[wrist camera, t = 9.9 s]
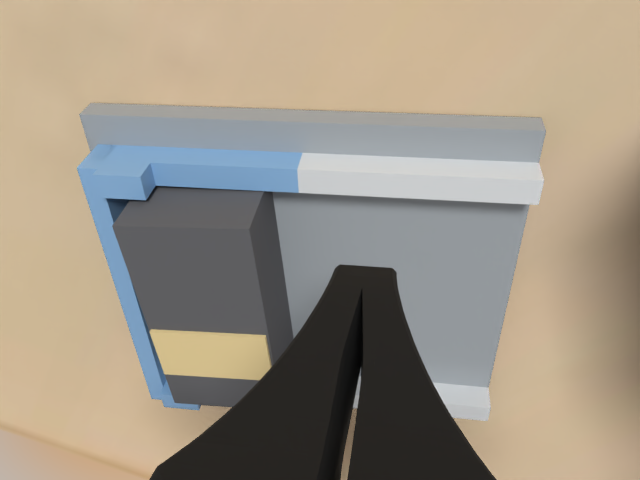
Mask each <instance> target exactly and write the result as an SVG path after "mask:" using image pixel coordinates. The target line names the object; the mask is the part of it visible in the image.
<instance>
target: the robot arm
mask: <svg viewBox="0 0 640 480" xmlns="http://www.w3.org/2000/svg"><path fill="white" fill-rule="evenodd" d="M360 369H361V384H360V392H359V400H358V408H357V416H356V423H355V431H354V438H353V445H352V452H351V459H350V466H349V473H348V479H347V480H496V479H495V477H494V476H493V475H492V474H491V472H490V471H489V470H488V468H487V467H486V466H485V464H484V463H483V462H482V460H481V459H480V458H479V456H478V455H477V454H476V452H475V451H474V449H473V448H472V446H471V445H470V443H469V442H468V440H467V439H466V437H465V436H464V434H463V433H462V431H461V430H460V428H459V427H458V425H457V424H456V422H455V421H454V419H453V418H452V416H451V414H450V413H449V411H448V409H447V408H446V406H445V404H444V403H443V401H442V399H441V397H440V395H439V393H438V392H437V390H436V388H435V386H434V384H433V382H432V380H431V378H430V376H429V374H428V372H427V370H426V368H425V366H424V363H423V361H422V359H421V357H420V354H419V352H418V350H417V347H416V345H415V342H414V340H413V337H412V334H411V331H410V329H409V326H408V323H407V320H406V317H405V314H404V311H403V307H402V303H401V299H400V295H399V290H398V285H397V272H396V271H395V270H394V269H393V268H387V267H372V266H356V265H341V264H340V265H338V266H337V267H336V268H335V269H334V272H333V274H332V277H331V279H330V281H329V283H328V285H327V287H326V289H325V291H324V293H323V294H322V296H321V298H320V300H319V301H318V303H317V305H316V306H315V308H314V310H313V311H312V313H311V314H310V316H309V317H308V319H307V321H306V322H305V324H304V325H303V327H302V328H301V330H300V331H299V332H298V334H297V335H296V336H295V338H294V339H293V340H292V342H291V343H290V344H289V346H288V347H287V349H286V350H285V351H284V352H283V354H282V355H281V356H280V357H279V359H278V360H277V361H276V362H275V364H274V365H273V366H272V367H271V368H270V369H269V370H268V372H267V373H266V374H265V375H264V376H263V377H262V378H261V379H260V381H259V382H258V383H257V384H256V385H255V386H254V387H253V388H252V389H251V390H250V391H249V392H248V393H247V394H246V395H245V396H244V397H243V398H242V399H241V400H240V401H239V402H238V403H237V404H236V405H235V406H234V407H233V408H231V409H230V410H229V411H228V412H227V413H226V414H225V415H223V416H222V417H221V418H220V419H219V420H218V421H216V422H215V423H214V424H213V425H212V426H211V427H209V428H208V429H207V430H206V431H205V432H204V433H202V434H201V435H200V436H199V437H197V438H196V439H195V440H193V441H192V442H191V443H189V444H188V445H187V446H185V447H184V448H182V449H181V450H180V451H178V452H177V453H176V454H174V455H173V456H171V457H170V458H169V459H167V460H166V461H165V462H163V463H162V464H160V465H159V466H158V467H157V468H156V470H155V471H154V473H153V474H152V476H151V478H150V480H340V478H341V468H342V462H343V455H344V449H345V444H346V439H347V434H348V429H349V424H350V419H351V414H352V409H353V404H354V399H355V394H356V389H357V384H358V379H359V374H360Z"/></svg>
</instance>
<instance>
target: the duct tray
mask: <svg viewBox="0 0 640 480" xmlns="http://www.w3.org/2000/svg"><path fill="white" fill-rule="evenodd" d="M79 115H80V118H81V122H82V125H83V128H84V132H85V135H86V138H87V141H88V145H89V148H90V151H91V152H90V154H89V155H88V156H87V157H86V158H85V159H84V160H83V161H82V163H81V164H80V165H79V166H78V167H77V170H78V173H79V176H80V179H81V182H82V185H83V189H84V192H85V195H86V198H87V201H88V204H89V207H90V210H91V213H92V216H93V219H94V222H95V226H96V229H97V232H98V235H99V238H100V241H101V244H102V247H103V250H104V253H105V256H106V259H107V262H108V266H109V269H110V272H111V275H112V278H113V281H114V284H115V287H116V290H117V293H118V296H119V299H120V302H121V306H122V309H123V312H124V315H125V318H126V321H127V324H128V327H129V330H130V333H131V336H132V339H133V342H134V346H135V349H136V352H137V355H138V358H139V361H140V364H141V367H142V370H143V373H144V376H145V379H146V382H147V386H148V389H149V392H150V395H151V398H152V399H159V400H162V401H163V404H164V407H171V408H181V409H191V410H199V409H200V406H201V405H196V404H181V403H175V402H174V400H173V397H172V394H171V391H170V388H169V385H168V383H167V380H166V377H165V374H164V372H163V369H162V366H161V363H160V360H159V358H158V355H157V352H156V349H155V346H154V344H153V341H152V338H151V335H150V332H149V329H148V326H147V323H146V320H145V318H144V315H143V312H142V309H141V306H140V304H139V301H138V298H137V295H136V292H135V289H134V287H133V284H132V281H131V278H130V275H129V272H128V270H127V267H126V264H125V261H124V258H123V256H122V253H121V250H120V247H119V244H118V241H117V239H116V236H115V233H114V230H113V227H112V225H113V224H114V222H115V221H116V220H117V218H118V217H119V215H120V214H121V212H122V211H123V209H124V208H125V207H126V205H127V204H128V202H129V201H130V199H131V200H147V198H148V197H149V195H150V194H151V192H152V191H153V189H154V188H155V186H173V187H193V188H212V189H232V190H252V191H272V193H273V200H274V206H275V213H276V220H277V227H278V234H279V241H280V248H281V255H282V262H283V269H284V275H285V282H286V289H287V296H288V303H289V310H290V317H291V324H292V331H293V338H295V336H296V335H297V334H298V332H299V331H300V330H301V328H302V327H303V325H304V324H305V322H306V321H307V319H308V317H309V316H310V314H311V313H312V311H313V310H314V308H315V306H316V305H317V303H318V301H319V300H320V298H321V296H322V294H323V293H324V291H325V289H326V287H327V285H328V283H329V281H330V279H331V277H332V274H333V272H334V269H335V268H336V267H337V266H338V265H340V264H341V265H356V266H372V267H387V268H393V269H394V270H395V271H396V272H397V285H398V290H399V295H400V299H401V303H402V307H403V311H404V314H405V317H406V320H407V323H408V326H409V329H410V331H411V334H412V337H413V340H414V342H415V345H416V347H417V350H418V352H419V354H420V357H421V359H422V361H423V363H424V366H425V368H426V370H427V372H428V374H429V376H430V378H431V380H432V382H433V384H434V386H435V388H436V390H437V392H438V393H439V395H440V397H441V399H442V401H443V403H444V404H445V406H446V408H447V409H448V411H449V413H450V414H451V416H452V418H461V419H472V420H482V421H488V417H489V413H490V409H491V407H490V397H489V388H488V387H489V383H490V378H491V374H492V370H493V365H494V361H495V356H496V352H497V347H498V343H499V338H500V334H501V329H502V325H503V320H504V316H505V312H506V307H507V303H508V298H509V294H510V289H511V285H512V280H513V276H514V271H515V267H516V263H517V258H518V254H519V249H520V245H521V240H522V236H523V231H524V227H525V222H526V218H527V213H528V209H529V205H539V201H540V196H541V192H542V188H543V184H544V178H543V175H542V171H541V168H540V165H539V160H540V155H541V151H542V147H543V142H544V138H545V133H546V129H545V126H544V124H543V121H542V118H535V117H504V116H474V115H443V114H413V113H382V112H351V111H321V110H290V109H259V108H229V107H198V106H167V105H137V104H106V103H90V104H89V105H88V106H87V107H86V108H85V109H84V110H83V111H82V112H81V113H80V114H79ZM360 384H361V369H360V374H359V379H358V384H357V389H356V394H355V399H354V404H353V408H358V400H359V392H360Z"/></svg>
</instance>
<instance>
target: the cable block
mask: <svg viewBox="0 0 640 480" xmlns="http://www.w3.org/2000/svg"><path fill="white" fill-rule="evenodd" d="M112 227H113V230H114V233H115V236H116V239H117V241H118V244H119V247H120V250H121V253H122V256H123V258H124V261H125V264H126V267H127V270H128V272H129V275H130V278H131V281H132V284H133V287H134V289H135V292H136V295H137V298H138V301H139V304H140V306H141V309H142V312H143V315H144V318H145V320H146V323H147V326H148V329H149V332H150V335H151V338H152V341H153V344H154V346H155V349H156V352H157V355H158V358H159V360H160V363H161V366H162V369H163V372H164V374H165V377H166V380H167V383H168V385H169V388H170V391H171V394H172V397H173V400H174V402H175V403H181V404H196V405H210V406H224V407H234V406H235V405H236V404H237V403H238V402H239V401H240V400H241V399H242V398H243V397H244V396H245V395H246V394H247V393H248V392H249V391H250V390H251V389H252V388H253V387H254V386H255V385H256V384H257V383H258V382H259V381H260V379H261V378H262V377H263V376H264V375H265V374H266V373H267V372H268V370H269V369H270V368H271V367H272V366H273V365H274V364H275V362H276V361H277V360H278V359H279V357H280V356H281V355H282V354H283V352H284V351H285V350H286V349H287V347H288V346H289V344H290V343H291V342H292V340H293V339H294V338H293V331H292V324H291V317H290V310H289V303H288V296H287V289H286V282H285V275H284V269H283V262H282V255H281V248H280V241H279V234H278V227H277V220H276V213H275V206H274V200H273V193H272V191H252V190H232V189H212V188H193V187H173V186H155V188H154V189H153V191H152V192H151V194H150V195H149V197H148V198H147V200H131V199H130V201H129V202H128V204H127V205H126V207H125V208H124V209H123V211H122V212H121V214H120V215H119V217H118V218H117V220H116V221H115V222H114V224H113V225H112Z"/></svg>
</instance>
